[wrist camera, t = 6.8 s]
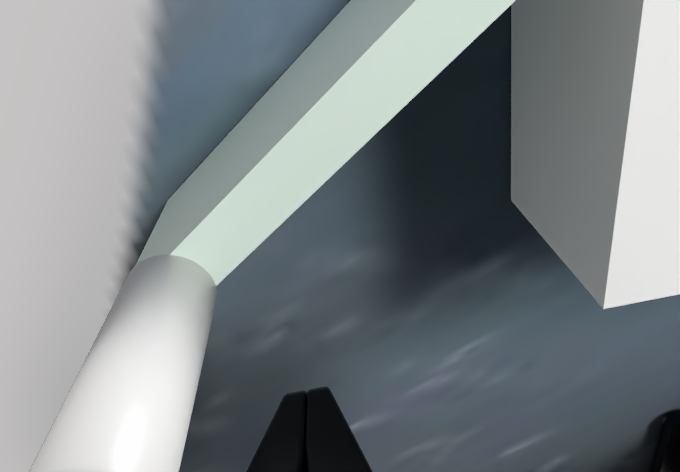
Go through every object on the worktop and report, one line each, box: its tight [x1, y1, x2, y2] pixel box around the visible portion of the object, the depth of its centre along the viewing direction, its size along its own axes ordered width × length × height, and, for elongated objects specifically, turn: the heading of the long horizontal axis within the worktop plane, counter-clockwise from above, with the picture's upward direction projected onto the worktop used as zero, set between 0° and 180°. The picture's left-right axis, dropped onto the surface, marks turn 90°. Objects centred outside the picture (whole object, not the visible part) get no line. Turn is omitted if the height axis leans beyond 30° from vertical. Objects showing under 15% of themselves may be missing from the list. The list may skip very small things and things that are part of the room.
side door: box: [29, 0, 516, 472], centre depth 8 cm, size 10×2×9 cm, turn 135°
